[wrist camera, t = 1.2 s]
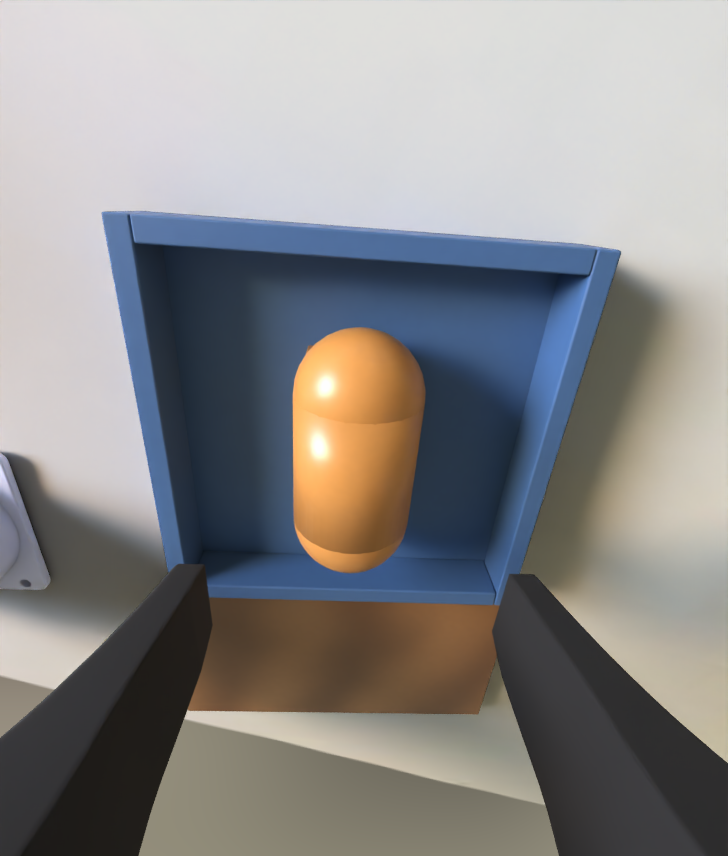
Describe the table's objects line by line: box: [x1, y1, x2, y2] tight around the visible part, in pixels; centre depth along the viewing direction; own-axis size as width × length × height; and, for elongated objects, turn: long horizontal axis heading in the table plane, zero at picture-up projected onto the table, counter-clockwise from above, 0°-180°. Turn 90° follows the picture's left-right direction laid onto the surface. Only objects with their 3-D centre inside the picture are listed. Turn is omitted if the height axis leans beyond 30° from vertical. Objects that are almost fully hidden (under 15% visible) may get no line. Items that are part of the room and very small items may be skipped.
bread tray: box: [102, 211, 621, 605], centre depth 17 cm, size 16×16×3 cm
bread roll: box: [293, 327, 426, 573], centre depth 16 cm, size 5×10×5 cm, turn 176°
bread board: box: [188, 598, 500, 714], centre depth 25 cm, size 18×10×1 cm, turn 86°
